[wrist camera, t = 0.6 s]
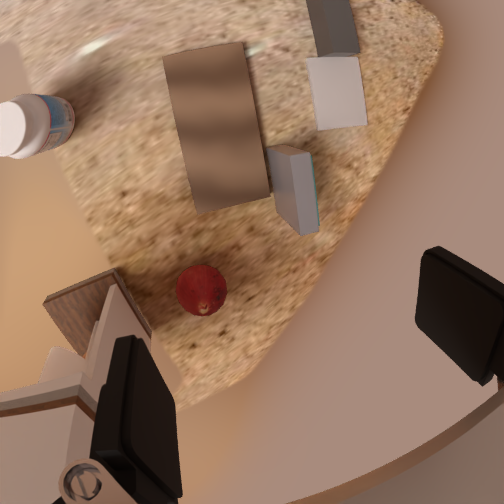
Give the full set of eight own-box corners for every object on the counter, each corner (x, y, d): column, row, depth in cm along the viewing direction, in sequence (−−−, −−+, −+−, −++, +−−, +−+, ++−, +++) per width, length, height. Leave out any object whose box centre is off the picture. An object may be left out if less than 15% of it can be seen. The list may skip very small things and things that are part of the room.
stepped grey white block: (290, -7, 26) (302, -18, 23) (341, -4, 27) (357, -14, 24) (316, 130, 34) (331, 132, 31) (365, 124, 35) (383, 126, 32)
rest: (162, 59, 27) (162, 56, 26) (240, 44, 28) (242, 42, 27) (196, 211, 35) (197, 214, 34) (267, 194, 36) (270, 196, 35)
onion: (218, 249, 38) (228, 282, 31) (225, 289, 40) (236, 326, 33) (171, 258, 37) (170, 293, 30) (181, 298, 39) (184, 337, 32)
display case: (114, 267, 36) (61, 589, 5) (151, 331, 40) (167, 602, 9) (47, 296, 35) (-38, 547, 4) (86, 352, 40) (60, 586, 9)
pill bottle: (35, 96, 25) (-16, 92, 15) (80, 98, 27) (39, 91, 17) (27, 147, 27) (-25, 163, 17) (71, 151, 29) (28, 167, 19)
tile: (266, 147, 34) (289, 155, 27) (285, 144, 34) (312, 151, 27) (276, 212, 38) (300, 236, 30) (294, 207, 38) (321, 230, 31)
